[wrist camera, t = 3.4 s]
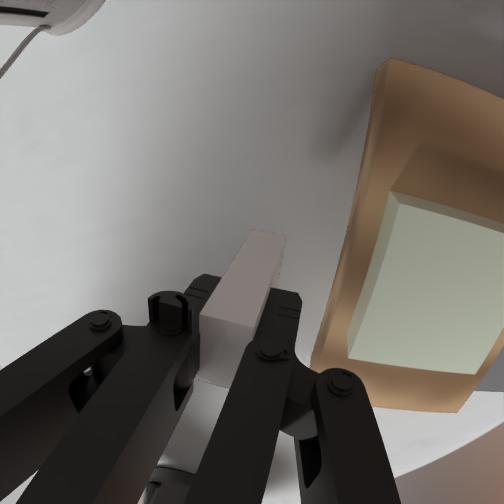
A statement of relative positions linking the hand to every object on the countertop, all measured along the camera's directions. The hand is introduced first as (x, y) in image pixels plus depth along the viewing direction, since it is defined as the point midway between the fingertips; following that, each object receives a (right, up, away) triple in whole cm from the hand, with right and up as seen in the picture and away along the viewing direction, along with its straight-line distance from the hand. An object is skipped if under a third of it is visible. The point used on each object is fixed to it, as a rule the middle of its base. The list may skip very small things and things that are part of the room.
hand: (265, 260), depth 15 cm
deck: (+11, 0, +3) cm, 11 cm away
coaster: (+9, -1, 0) cm, 9 cm away
